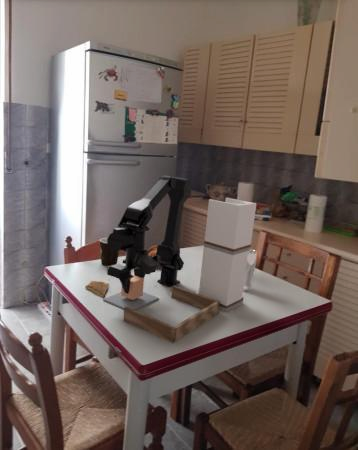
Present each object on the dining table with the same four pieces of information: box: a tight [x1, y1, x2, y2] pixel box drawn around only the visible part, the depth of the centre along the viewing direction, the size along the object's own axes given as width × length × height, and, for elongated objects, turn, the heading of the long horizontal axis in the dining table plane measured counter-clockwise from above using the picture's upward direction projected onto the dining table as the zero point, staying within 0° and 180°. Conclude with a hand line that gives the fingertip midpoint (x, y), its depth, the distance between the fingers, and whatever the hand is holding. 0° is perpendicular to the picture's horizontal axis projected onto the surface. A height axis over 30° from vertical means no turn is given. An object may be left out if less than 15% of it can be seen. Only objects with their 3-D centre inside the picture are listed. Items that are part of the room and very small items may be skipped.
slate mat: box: [102, 291, 160, 311], centre depth 124 cm, size 14×12×1 cm
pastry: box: [147, 244, 162, 270], centre depth 165 cm, size 17×15×8 cm
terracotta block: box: [120, 274, 145, 300], centre depth 123 cm, size 5×5×6 cm
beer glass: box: [243, 248, 258, 292], centre depth 142 cm, size 7×7×15 cm
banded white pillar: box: [198, 197, 257, 313], centre depth 126 cm, size 11×11×35 cm
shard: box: [84, 280, 110, 298], centre depth 129 cm, size 11×8×2 cm
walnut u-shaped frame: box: [123, 285, 220, 344], centre depth 115 cm, size 25×18×4 cm
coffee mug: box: [99, 237, 120, 267], centre depth 155 cm, size 12×9×10 cm
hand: (132, 291), depth 124 cm, fingers closed on terracotta block, 5 cm apart
